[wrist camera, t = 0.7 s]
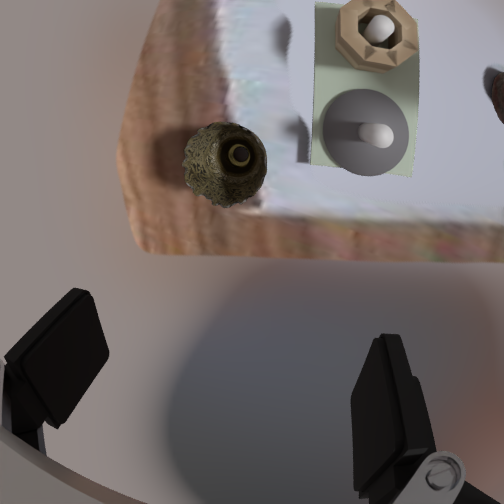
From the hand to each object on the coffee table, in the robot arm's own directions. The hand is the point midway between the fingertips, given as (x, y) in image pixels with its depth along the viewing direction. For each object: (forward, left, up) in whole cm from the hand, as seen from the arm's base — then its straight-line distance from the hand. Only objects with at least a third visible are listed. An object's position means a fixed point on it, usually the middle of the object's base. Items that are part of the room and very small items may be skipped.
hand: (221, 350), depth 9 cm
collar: (-16, +8, -25) cm, 30 cm away
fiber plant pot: (-3, -5, -26) cm, 27 cm away
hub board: (-11, +8, -26) cm, 29 cm away
